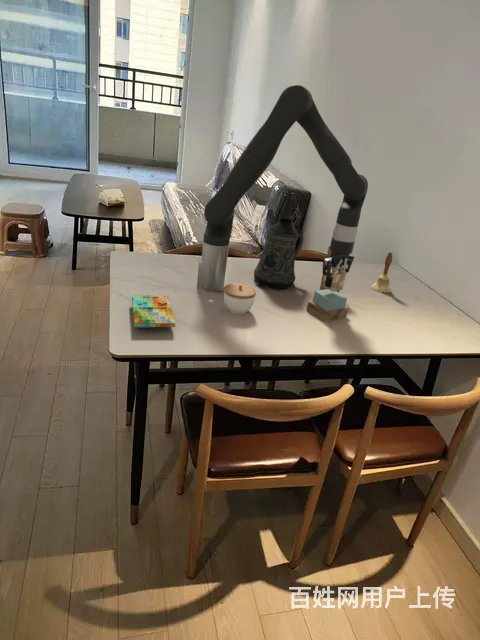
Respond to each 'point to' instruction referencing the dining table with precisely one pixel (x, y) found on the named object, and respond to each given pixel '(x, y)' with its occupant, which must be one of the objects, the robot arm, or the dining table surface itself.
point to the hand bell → (384, 277)
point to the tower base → (326, 312)
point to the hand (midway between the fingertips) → (332, 285)
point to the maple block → (336, 281)
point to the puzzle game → (152, 311)
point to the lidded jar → (239, 297)
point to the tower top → (329, 299)
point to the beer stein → (279, 256)
